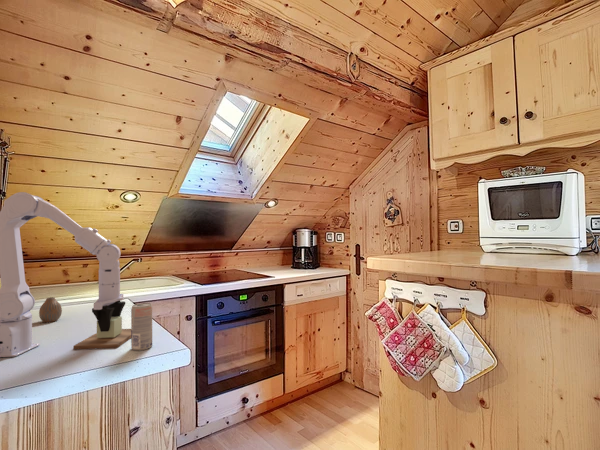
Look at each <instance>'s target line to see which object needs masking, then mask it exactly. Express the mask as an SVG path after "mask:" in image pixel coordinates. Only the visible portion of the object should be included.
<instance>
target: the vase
mask: <svg viewBox="0 0 600 450" xmlns="http://www.w3.org/2000/svg"><path fill="white" fill-rule="evenodd" d="M62 311H63V309H62V305H61V303H60V302H58V300H57V299H56V297H51V296H50V297H46V299H45V301H44V302H43V303H42V304H41V305H40V307H39V311H38V316H39V319H40V321H42V322H43V323H53V322H57V321H58V320H59V319H60V318H61V316H62Z"/></svg>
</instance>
